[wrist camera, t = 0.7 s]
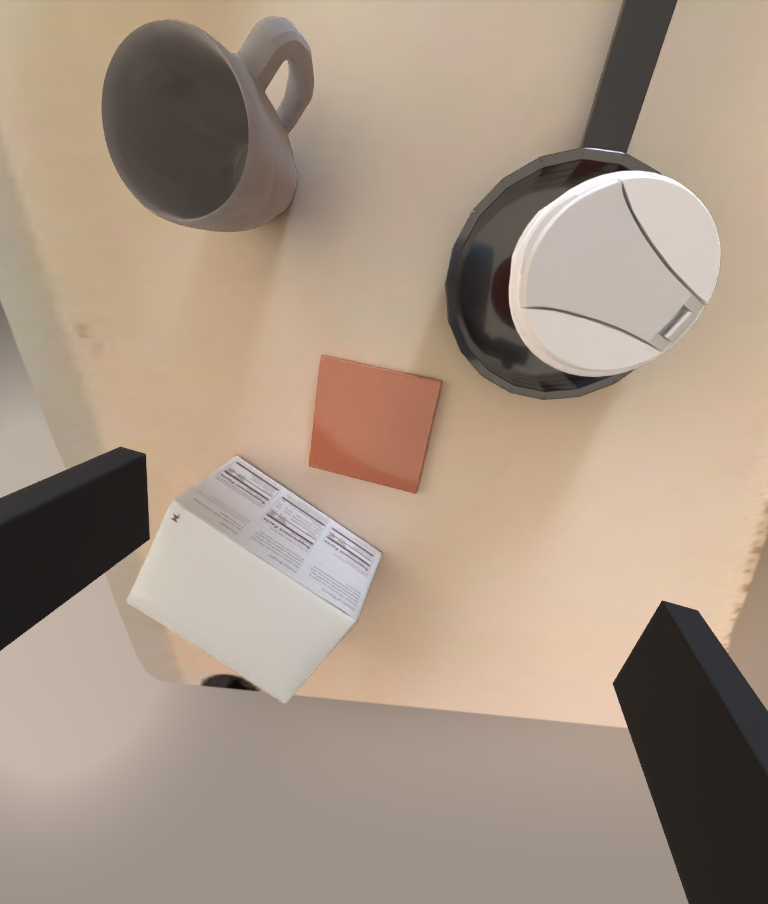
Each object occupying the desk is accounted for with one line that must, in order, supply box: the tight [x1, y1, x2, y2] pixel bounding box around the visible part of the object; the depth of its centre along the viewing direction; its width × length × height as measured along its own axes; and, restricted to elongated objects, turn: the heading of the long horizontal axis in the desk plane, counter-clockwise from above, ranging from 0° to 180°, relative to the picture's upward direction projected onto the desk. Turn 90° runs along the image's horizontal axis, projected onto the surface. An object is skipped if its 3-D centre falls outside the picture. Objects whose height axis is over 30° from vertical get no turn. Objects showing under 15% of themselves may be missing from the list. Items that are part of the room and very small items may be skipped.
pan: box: [445, 147, 662, 400], centre depth 27 cm, size 14×14×4 cm
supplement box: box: [126, 456, 382, 704], centre depth 37 cm, size 17×13×9 cm
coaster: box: [309, 356, 442, 493], centre depth 35 cm, size 10×10×1 cm
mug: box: [102, 16, 314, 232], centre depth 25 cm, size 12×9×10 cm
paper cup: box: [509, 171, 721, 377], centre depth 22 cm, size 8×8×14 cm
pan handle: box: [580, 0, 677, 154], centre depth 21 cm, size 10×2×1 cm, turn 170°
